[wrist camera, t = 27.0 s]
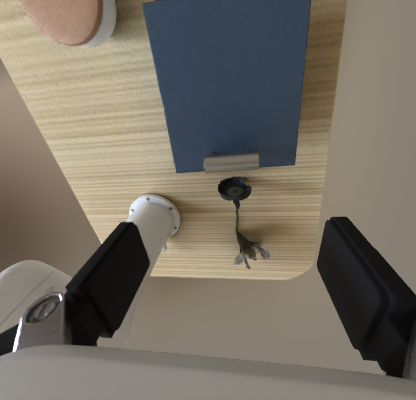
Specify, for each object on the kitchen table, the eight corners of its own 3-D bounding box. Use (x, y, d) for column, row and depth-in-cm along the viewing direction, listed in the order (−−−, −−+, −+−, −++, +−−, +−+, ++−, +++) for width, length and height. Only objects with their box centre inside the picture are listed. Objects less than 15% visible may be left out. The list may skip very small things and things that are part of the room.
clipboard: (293, 163, 24) (305, 179, 19) (177, 171, 26) (166, 187, 22) (311, -30, 16) (339, -76, 12) (145, 6, 18) (116, -20, 14)
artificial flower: (255, 170, 41) (277, 196, 32) (255, 243, 54) (271, 275, 45) (214, 179, 40) (225, 208, 32) (224, 251, 53) (234, 284, 45)
